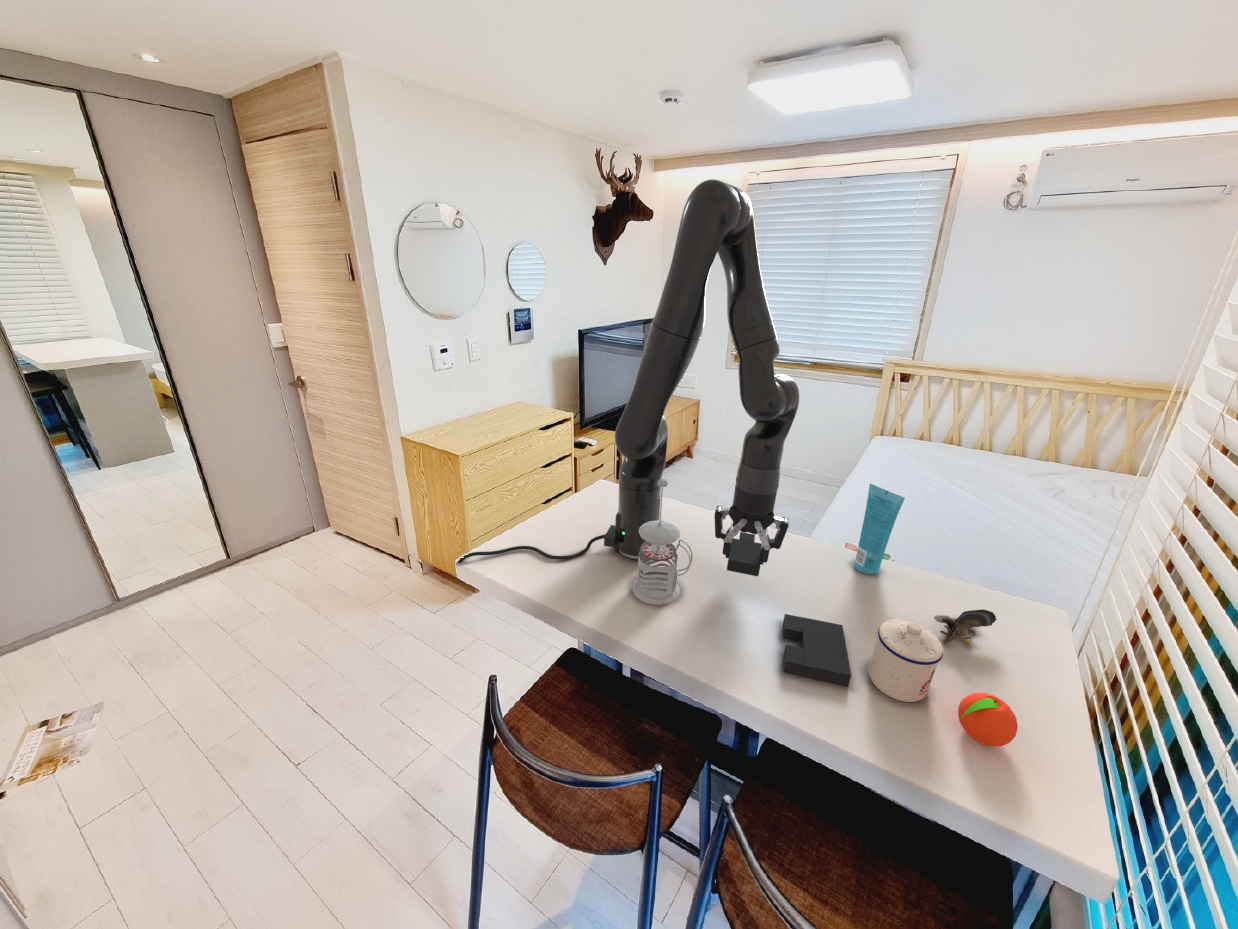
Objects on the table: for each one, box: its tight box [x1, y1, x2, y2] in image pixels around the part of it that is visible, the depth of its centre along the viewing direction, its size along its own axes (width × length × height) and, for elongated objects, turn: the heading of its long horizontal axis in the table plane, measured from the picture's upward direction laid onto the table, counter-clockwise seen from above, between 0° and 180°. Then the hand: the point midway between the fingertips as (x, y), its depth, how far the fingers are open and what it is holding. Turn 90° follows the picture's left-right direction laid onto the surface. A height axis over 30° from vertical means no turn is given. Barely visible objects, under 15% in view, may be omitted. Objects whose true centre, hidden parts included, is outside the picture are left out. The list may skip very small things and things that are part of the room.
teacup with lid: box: [867, 619, 944, 703], centre depth 81 cm, size 12×9×12 cm
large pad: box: [782, 613, 852, 688], centre depth 87 cm, size 10×12×2 cm
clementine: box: [957, 692, 1019, 747], centre depth 72 cm, size 8×7×7 cm
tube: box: [854, 483, 906, 575], centre depth 107 cm, size 7×5×19 cm, turn 39°
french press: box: [631, 478, 694, 606], centre depth 97 cm, size 10×12×25 cm
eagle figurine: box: [933, 609, 998, 646], centre depth 91 cm, size 8×7×9 cm
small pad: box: [726, 531, 762, 578], centre depth 101 cm, size 11×6×2 cm, turn 163°
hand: (744, 558), depth 100 cm, fingers closed on small pad, 6 cm apart
